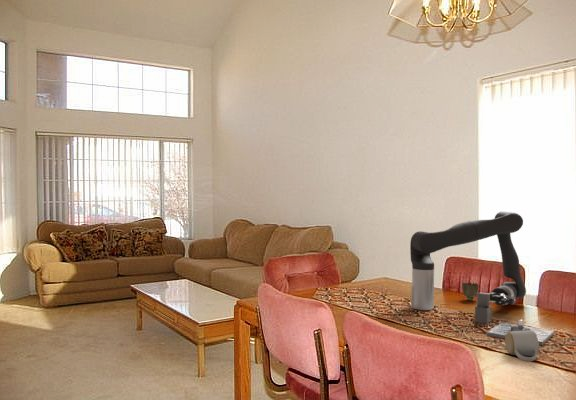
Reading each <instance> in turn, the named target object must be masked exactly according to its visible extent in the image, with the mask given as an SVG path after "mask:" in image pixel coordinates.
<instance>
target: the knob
mask: <svg viewBox="0 0 576 400" xmlns="http://www.w3.org/2000/svg"><path fill="white" fill-rule="evenodd" d="M488 293H489V292H484V293H482V292H478V293H477V295H476V305H475V307H474V308H475V309H474V313H475V314H474V322H475V323H479V324H484V325H488V324H489V323H491V322H492V306H491V305H490V303H491V302H490V294H488ZM487 323H488V324H487Z"/></svg>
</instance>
